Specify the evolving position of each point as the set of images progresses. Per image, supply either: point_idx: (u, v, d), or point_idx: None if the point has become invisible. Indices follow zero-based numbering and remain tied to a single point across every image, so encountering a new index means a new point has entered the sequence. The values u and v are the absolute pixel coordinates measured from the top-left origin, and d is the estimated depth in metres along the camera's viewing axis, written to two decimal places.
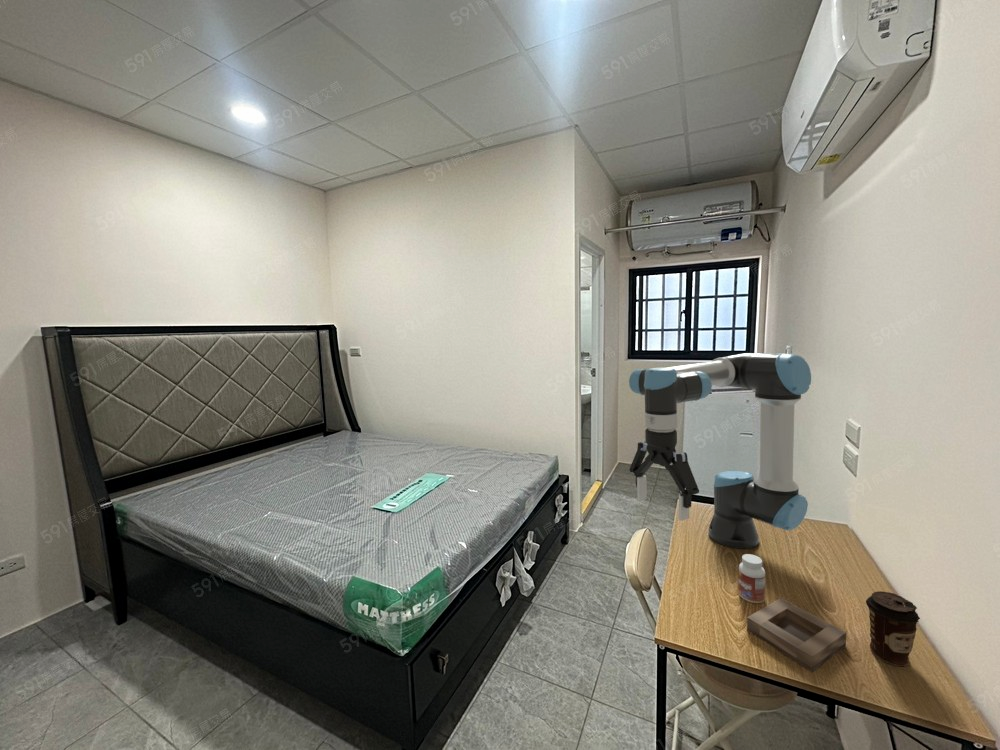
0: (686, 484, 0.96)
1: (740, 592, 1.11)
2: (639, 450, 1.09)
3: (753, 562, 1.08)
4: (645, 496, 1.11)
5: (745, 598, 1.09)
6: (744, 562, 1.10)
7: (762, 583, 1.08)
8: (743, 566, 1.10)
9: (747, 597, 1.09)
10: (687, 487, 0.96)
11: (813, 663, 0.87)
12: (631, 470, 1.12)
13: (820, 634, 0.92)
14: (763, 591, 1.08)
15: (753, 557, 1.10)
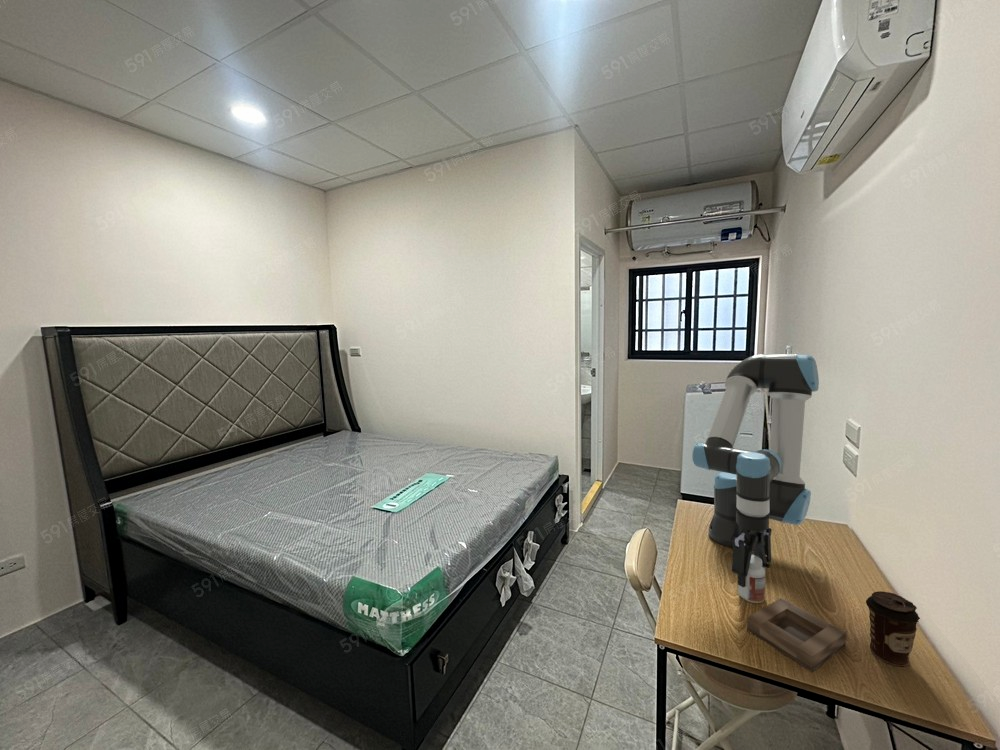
0: None
1: None
2: None
3: (753, 562, 1.08)
4: None
5: (745, 598, 1.09)
6: None
7: (762, 583, 1.08)
8: None
9: None
10: None
11: (813, 663, 0.87)
12: None
13: (820, 634, 0.92)
14: (763, 591, 1.08)
15: (753, 557, 1.10)
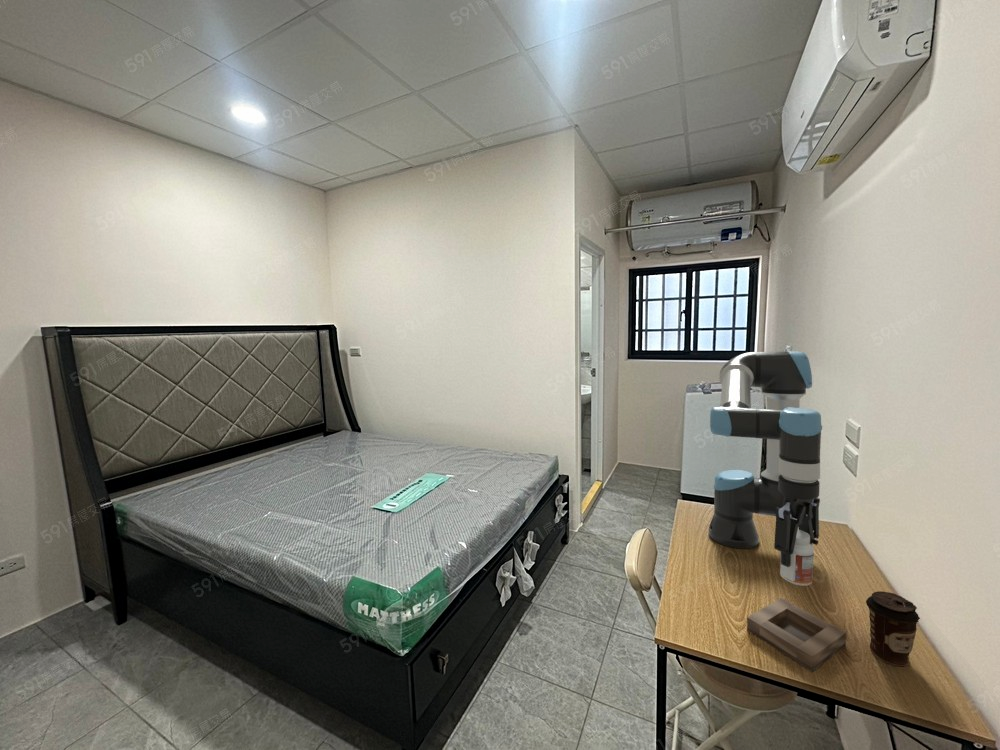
0: None
1: None
2: None
3: (799, 537, 0.91)
4: None
5: (789, 580, 0.93)
6: None
7: (810, 561, 0.91)
8: None
9: None
10: None
11: (813, 663, 0.87)
12: None
13: (820, 634, 0.92)
14: (811, 571, 0.92)
15: (799, 532, 0.94)
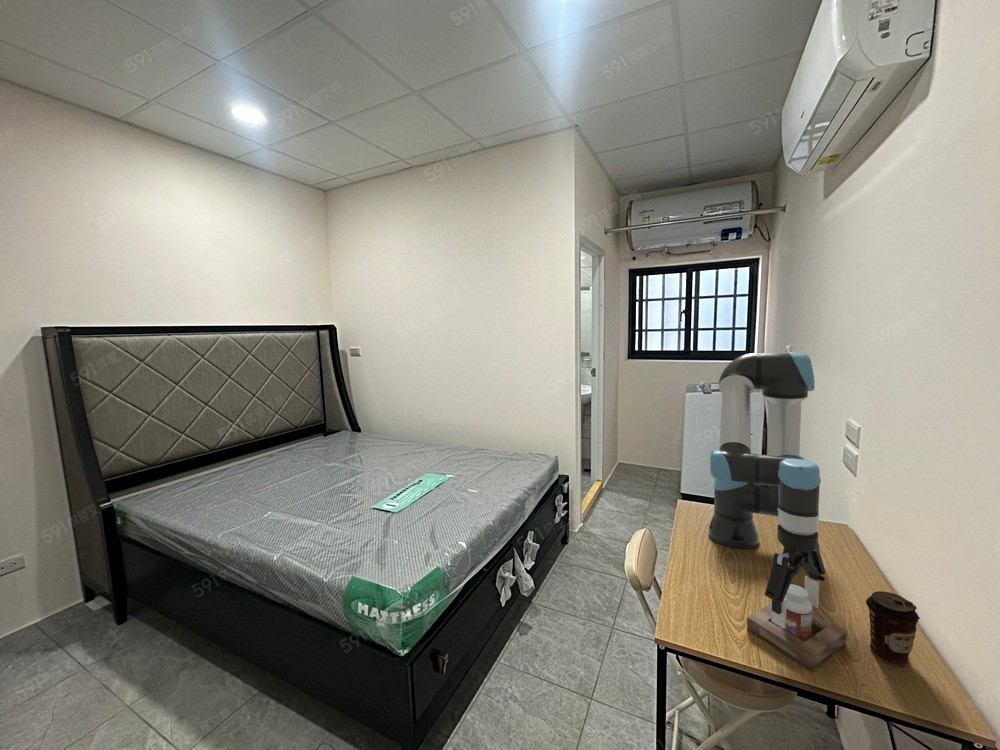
0: None
1: None
2: None
3: (798, 595, 0.93)
4: (814, 603, 0.97)
5: None
6: (787, 594, 0.94)
7: (809, 619, 0.93)
8: (786, 598, 0.95)
9: None
10: None
11: (813, 663, 0.87)
12: None
13: (820, 634, 0.92)
14: (810, 629, 0.93)
15: (797, 589, 0.95)
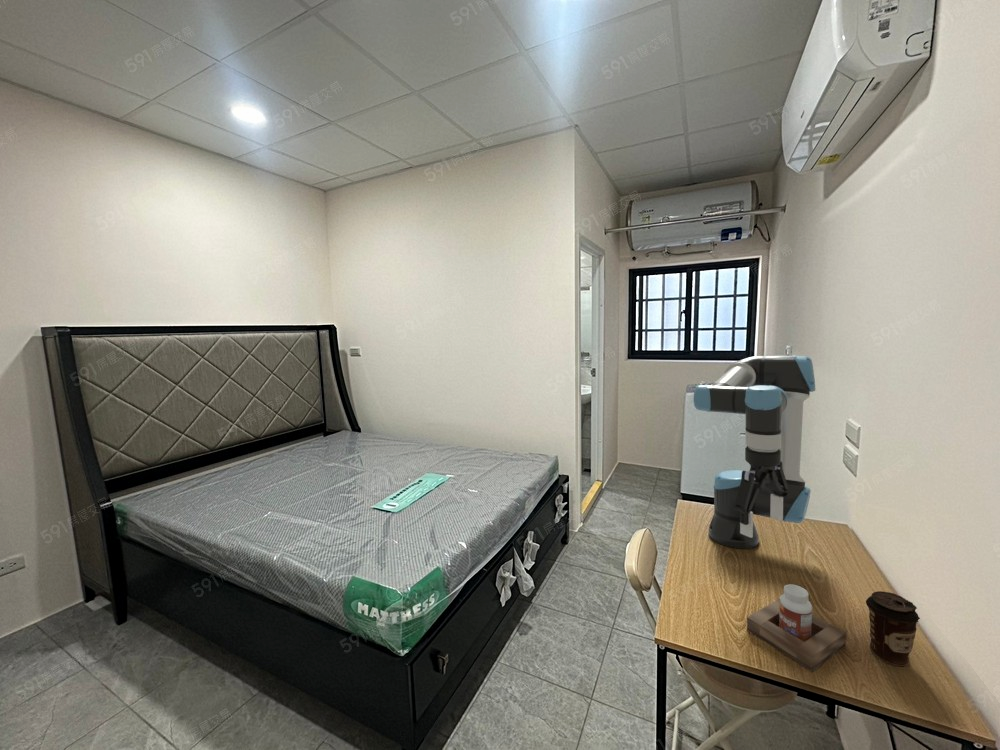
0: None
1: None
2: None
3: (798, 595, 0.93)
4: (779, 517, 1.07)
5: None
6: (787, 594, 0.94)
7: (809, 619, 0.93)
8: (786, 598, 0.95)
9: None
10: None
11: (813, 663, 0.87)
12: None
13: (820, 634, 0.92)
14: (810, 629, 0.93)
15: (797, 589, 0.95)
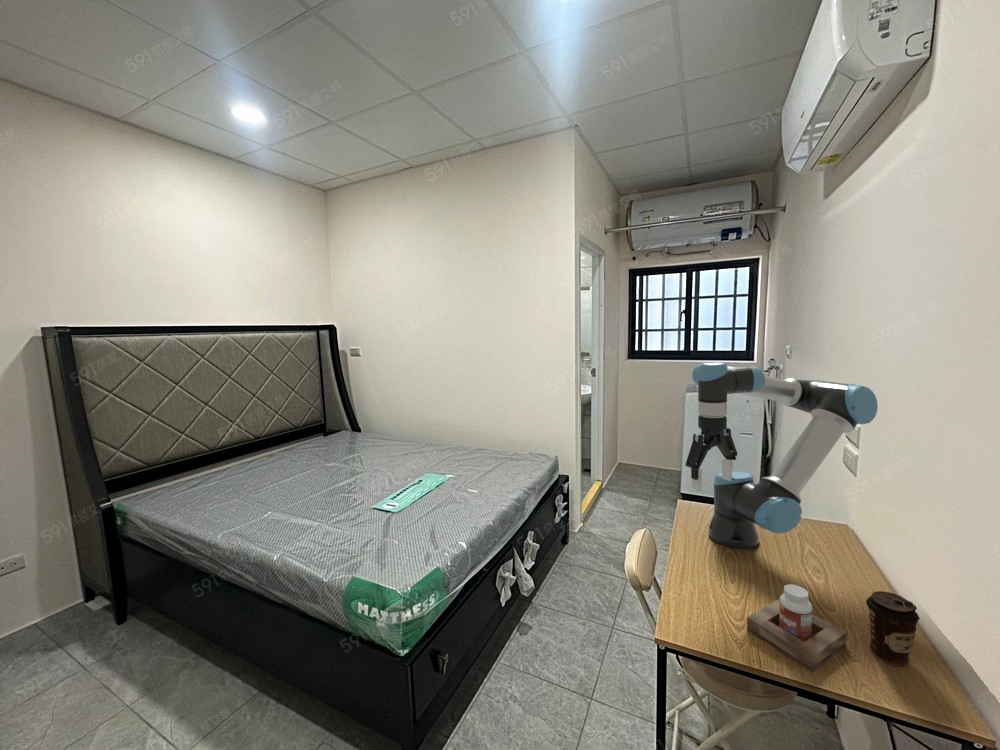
0: None
1: None
2: None
3: (798, 595, 0.93)
4: (728, 478, 1.24)
5: None
6: (787, 594, 0.94)
7: (809, 619, 0.93)
8: (786, 598, 0.95)
9: None
10: None
11: (813, 663, 0.87)
12: None
13: (820, 634, 0.92)
14: (810, 629, 0.93)
15: (798, 589, 0.95)
